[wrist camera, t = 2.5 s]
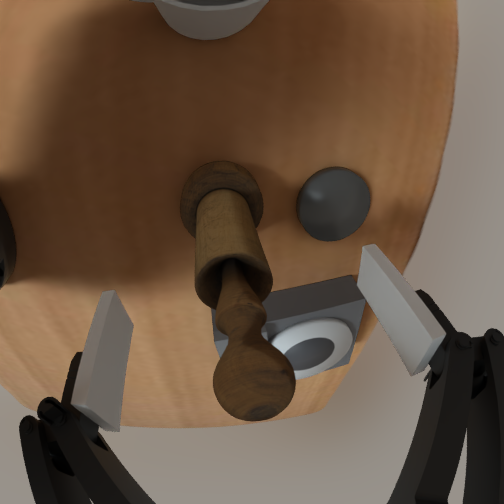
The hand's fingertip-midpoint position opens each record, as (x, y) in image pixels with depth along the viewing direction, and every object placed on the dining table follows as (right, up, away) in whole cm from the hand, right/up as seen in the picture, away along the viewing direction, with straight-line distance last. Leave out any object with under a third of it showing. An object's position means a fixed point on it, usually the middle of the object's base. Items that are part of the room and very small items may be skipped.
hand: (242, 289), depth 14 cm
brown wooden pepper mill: (-2, +6, +9) cm, 11 cm away
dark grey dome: (+8, +6, +11) cm, 15 cm away
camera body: (+5, -8, +20) cm, 22 cm away
